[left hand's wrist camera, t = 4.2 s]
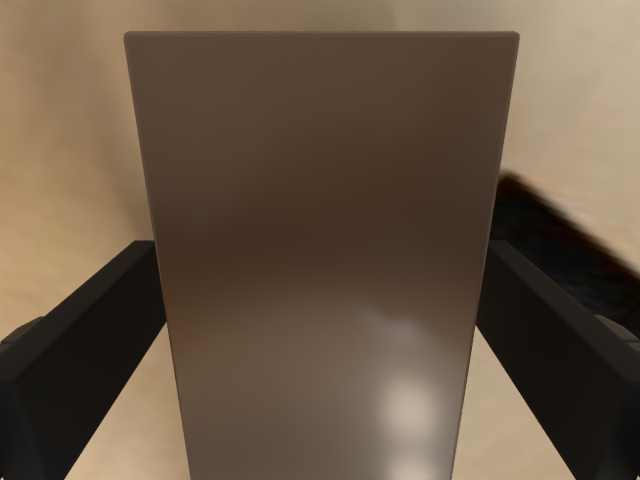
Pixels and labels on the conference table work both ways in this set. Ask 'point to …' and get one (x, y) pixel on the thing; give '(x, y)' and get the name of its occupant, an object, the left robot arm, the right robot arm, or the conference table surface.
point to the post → (321, 239)
